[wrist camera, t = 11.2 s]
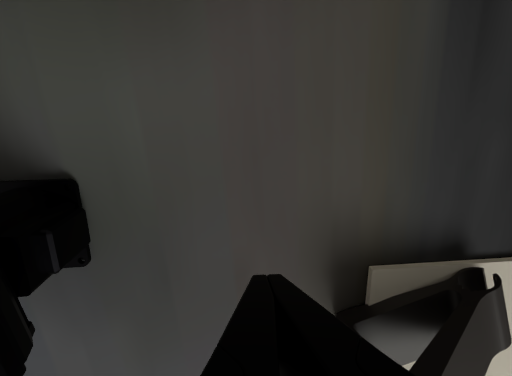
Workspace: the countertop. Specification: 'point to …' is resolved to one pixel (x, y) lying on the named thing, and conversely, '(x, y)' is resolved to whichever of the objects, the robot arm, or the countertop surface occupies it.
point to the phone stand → (439, 325)
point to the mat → (424, 274)
